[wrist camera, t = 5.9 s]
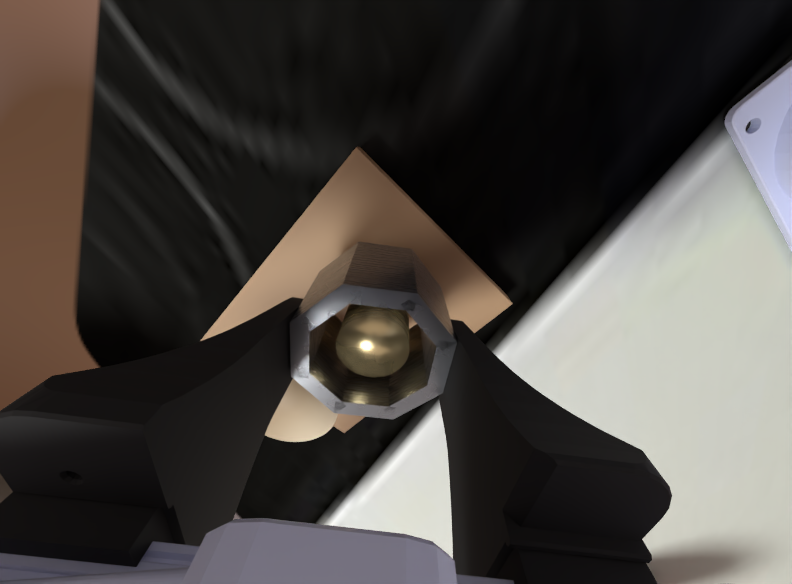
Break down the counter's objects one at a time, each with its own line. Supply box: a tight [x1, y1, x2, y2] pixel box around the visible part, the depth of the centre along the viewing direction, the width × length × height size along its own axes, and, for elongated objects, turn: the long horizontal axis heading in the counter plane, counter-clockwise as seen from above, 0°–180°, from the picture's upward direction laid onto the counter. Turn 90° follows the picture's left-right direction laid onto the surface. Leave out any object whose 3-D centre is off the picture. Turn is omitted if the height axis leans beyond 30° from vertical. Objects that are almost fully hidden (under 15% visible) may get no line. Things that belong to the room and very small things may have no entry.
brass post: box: [336, 304, 409, 377], centre depth 13 cm, size 3×3×4 cm
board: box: [201, 147, 512, 442], centre depth 15 cm, size 10×13×4 cm
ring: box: [290, 242, 457, 419], centre depth 12 cm, size 5×5×4 cm
